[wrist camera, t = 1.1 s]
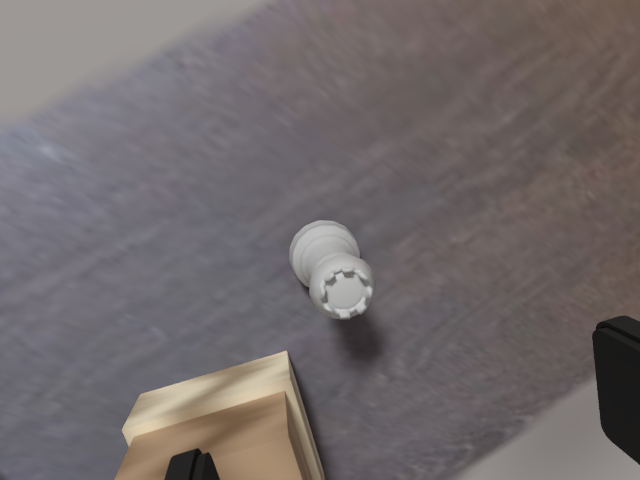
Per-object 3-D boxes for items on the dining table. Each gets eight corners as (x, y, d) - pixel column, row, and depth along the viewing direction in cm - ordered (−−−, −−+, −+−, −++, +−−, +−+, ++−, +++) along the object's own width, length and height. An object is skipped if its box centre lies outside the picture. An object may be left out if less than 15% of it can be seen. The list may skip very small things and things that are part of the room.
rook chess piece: (334, 205, 26) (363, 227, 18) (369, 262, 27) (410, 305, 19) (274, 243, 26) (279, 281, 18) (311, 298, 27) (330, 356, 19)
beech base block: (286, 347, 28) (290, 378, 24) (322, 466, 30) (330, 511, 27) (142, 390, 27) (121, 429, 24) (189, 508, 30) (178, 562, 26)
